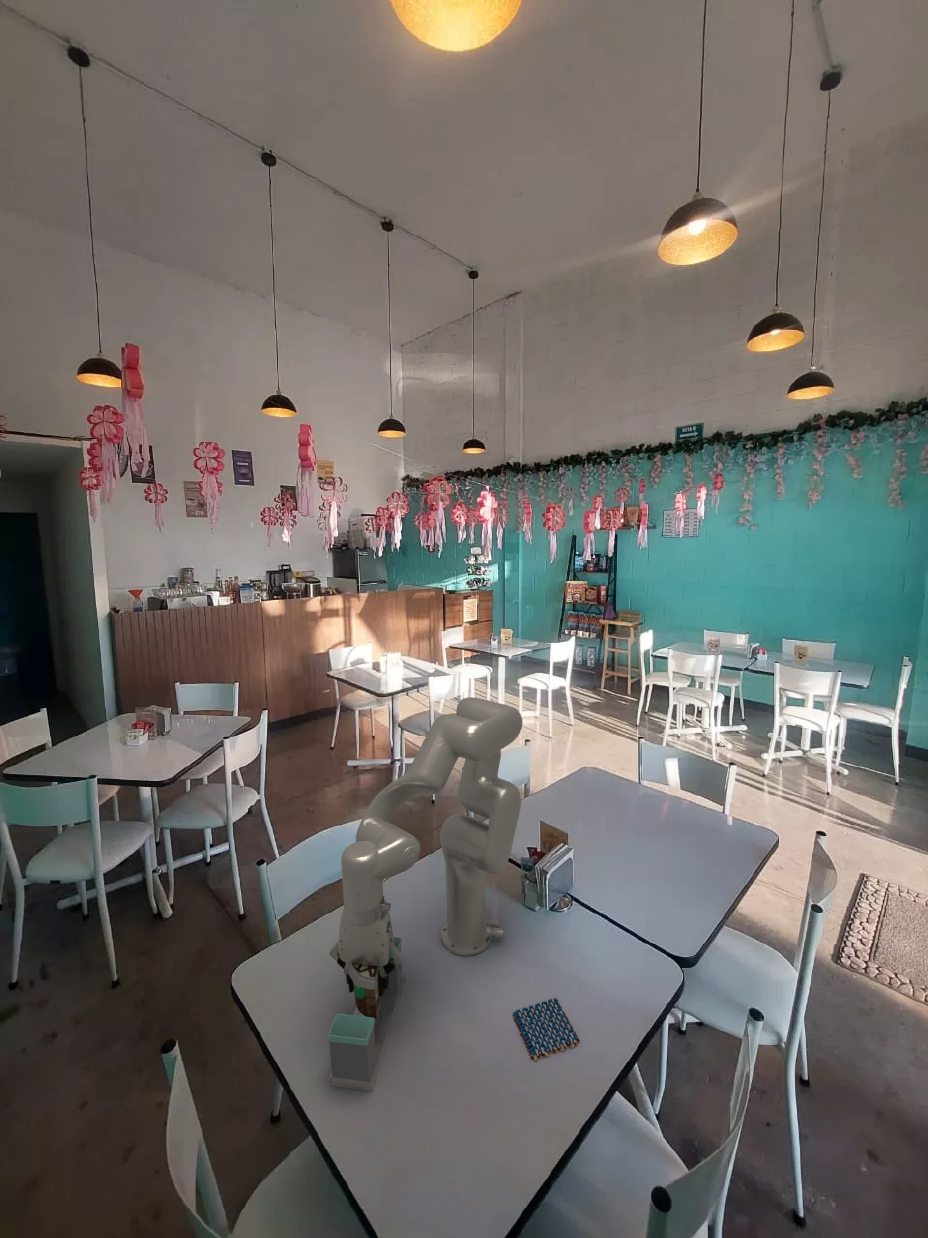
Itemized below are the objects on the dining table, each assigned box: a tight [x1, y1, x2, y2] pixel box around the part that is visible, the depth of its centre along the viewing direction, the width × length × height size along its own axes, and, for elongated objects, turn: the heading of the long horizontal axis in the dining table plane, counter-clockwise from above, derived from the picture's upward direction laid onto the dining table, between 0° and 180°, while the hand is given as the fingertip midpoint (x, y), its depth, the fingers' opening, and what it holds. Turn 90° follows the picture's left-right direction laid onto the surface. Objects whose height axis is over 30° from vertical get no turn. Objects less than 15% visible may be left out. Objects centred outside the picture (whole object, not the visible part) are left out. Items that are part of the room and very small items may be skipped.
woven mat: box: [512, 997, 581, 1062], centre depth 102 cm, size 10×11×2 cm
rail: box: [329, 972, 406, 1093], centre depth 103 cm, size 8×23×2 cm, turn 172°
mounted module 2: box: [388, 936, 403, 989], centre depth 111 cm, size 7×4×9 cm, turn 82°
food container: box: [348, 962, 381, 1019], centre depth 101 cm, size 12×6×10 cm, turn 0°
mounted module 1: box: [327, 1013, 376, 1082], centre depth 93 cm, size 7×4×9 cm, turn 82°
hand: (368, 987), depth 102 cm, fingers closed on food container, 5 cm apart
